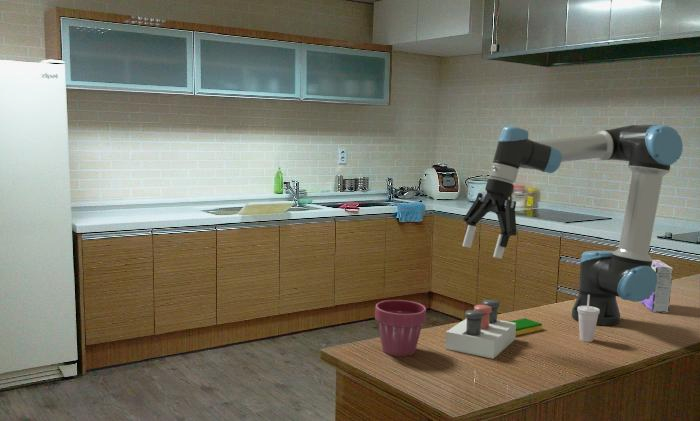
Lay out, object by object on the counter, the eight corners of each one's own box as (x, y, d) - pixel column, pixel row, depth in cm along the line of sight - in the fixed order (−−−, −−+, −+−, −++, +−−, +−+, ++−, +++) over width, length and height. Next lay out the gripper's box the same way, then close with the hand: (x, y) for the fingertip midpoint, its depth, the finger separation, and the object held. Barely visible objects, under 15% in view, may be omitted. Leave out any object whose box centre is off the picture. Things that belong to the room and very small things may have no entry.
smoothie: (571, 339, 193) (574, 294, 191) (580, 335, 198) (583, 290, 196) (592, 344, 189) (595, 298, 187) (601, 340, 193) (604, 294, 192)
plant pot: (432, 357, 175) (434, 311, 173) (383, 361, 171) (385, 314, 169) (412, 340, 188) (414, 298, 187) (367, 344, 184) (368, 300, 183)
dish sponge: (542, 330, 203) (542, 323, 202) (511, 337, 195) (511, 329, 195) (524, 325, 208) (525, 317, 208) (494, 331, 201) (494, 323, 201)
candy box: (639, 302, 239) (643, 258, 237) (656, 303, 238) (660, 259, 236) (651, 312, 225) (655, 266, 223) (669, 313, 224) (673, 267, 222)
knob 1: (484, 332, 181) (486, 312, 181) (478, 337, 177) (479, 316, 176) (468, 329, 184) (469, 309, 183) (461, 334, 180) (462, 313, 179)
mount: (515, 339, 192) (516, 323, 191) (493, 358, 175) (494, 340, 174) (470, 330, 199) (471, 315, 199) (445, 348, 182) (445, 331, 182)
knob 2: (500, 320, 193) (501, 301, 193) (495, 324, 189) (496, 305, 188) (484, 318, 196) (485, 298, 195) (479, 321, 192) (480, 302, 191)
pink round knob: (493, 326, 187) (494, 306, 187) (487, 330, 183) (488, 310, 182) (476, 323, 190) (477, 303, 189) (470, 327, 186) (471, 307, 185)
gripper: (464, 172, 193) (445, 240, 194) (523, 183, 171) (501, 260, 172) (482, 178, 196) (464, 245, 198) (542, 189, 175) (521, 264, 176)
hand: (481, 252), depth 185 cm, fingers open, 13 cm apart
